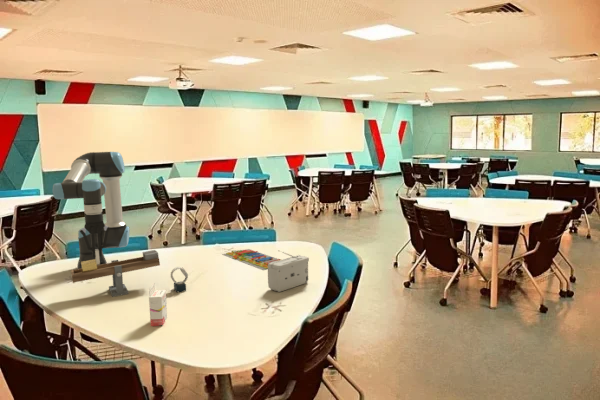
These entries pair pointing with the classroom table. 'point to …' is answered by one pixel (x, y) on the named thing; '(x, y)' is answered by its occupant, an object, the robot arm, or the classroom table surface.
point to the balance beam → (127, 265)
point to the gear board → (252, 258)
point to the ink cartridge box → (157, 306)
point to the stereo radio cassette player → (288, 273)
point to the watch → (181, 285)
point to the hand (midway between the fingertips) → (97, 263)
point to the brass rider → (89, 265)
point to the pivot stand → (118, 282)
